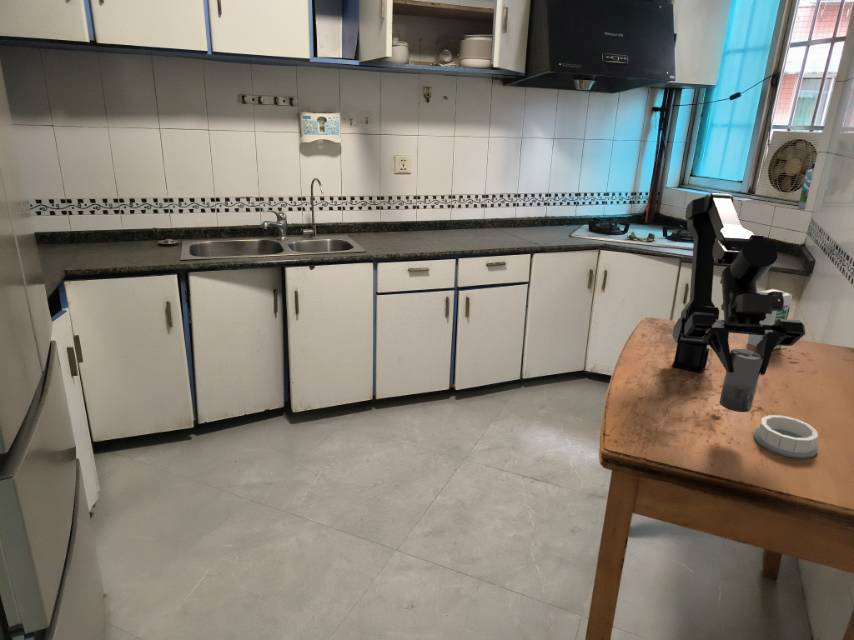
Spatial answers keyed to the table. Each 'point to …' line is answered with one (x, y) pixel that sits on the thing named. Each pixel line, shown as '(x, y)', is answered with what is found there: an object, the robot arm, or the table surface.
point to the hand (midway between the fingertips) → (745, 372)
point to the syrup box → (773, 316)
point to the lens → (741, 380)
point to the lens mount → (787, 436)
